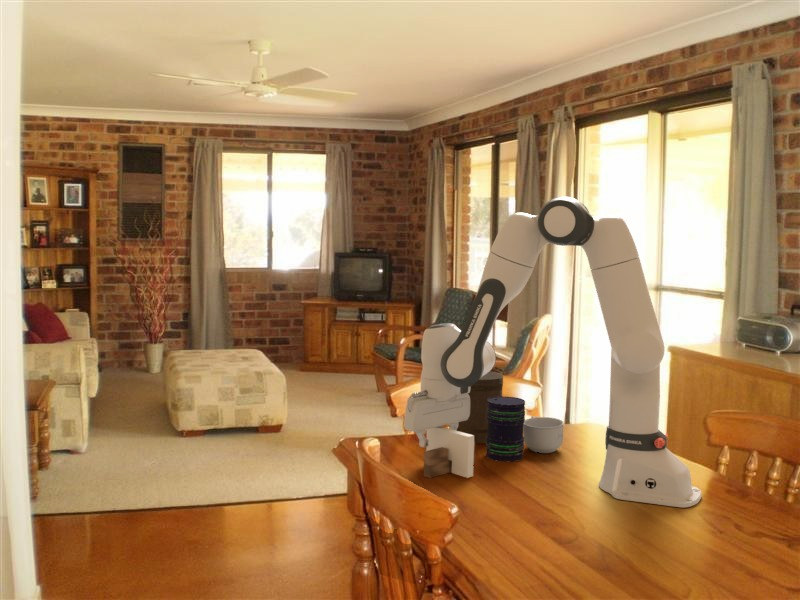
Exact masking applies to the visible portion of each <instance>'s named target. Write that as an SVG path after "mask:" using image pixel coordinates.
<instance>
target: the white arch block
mask: <svg viewBox="0 0 800 600" xmlns="http://www.w3.org/2000/svg"><path fill="white" fill-rule="evenodd" d="M426 439H428V440H429V441H428V446H427V447H425V448H426V450H425V451H429V450H433V449H437V448H440V447H444V448H447V449H448V460H451V461H452V472H451V474H454V475H457V476H460V477H463V478H466V479H468V478H471V477H474V466H473V463H474V435H471V434H467V433H463V432H459V431H456V430H452V429H449V428H448V427H444V426H439V427H435V428H430V429H426Z"/></svg>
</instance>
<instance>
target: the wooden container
mask: <svg viewBox="0 0 800 600" xmlns="http://www.w3.org/2000/svg"><path fill="white" fill-rule="evenodd" d="M503 385H504V375H503V374H502V373H500V372H496V371H492V370H491V371H490V372H488V373H487V374H486V375H485V376H483V377H482V378H480V379H479V380H478V381H477V382H476V383H475V384H474V385H472V386H470V393H468V394H469V396H470V416H469V418H468V420H466V421H461V422H459V424H458V428H457V430H456V431H459V432H463V433H467V434H471V435H474V442H475V445H482V444H481V443H486V435H487V434H488V421H487V409H488V408H487V406H488V399H489V398H491V397H501V396H503ZM449 428H450V426H449ZM449 428H448V429H449Z"/></svg>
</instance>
